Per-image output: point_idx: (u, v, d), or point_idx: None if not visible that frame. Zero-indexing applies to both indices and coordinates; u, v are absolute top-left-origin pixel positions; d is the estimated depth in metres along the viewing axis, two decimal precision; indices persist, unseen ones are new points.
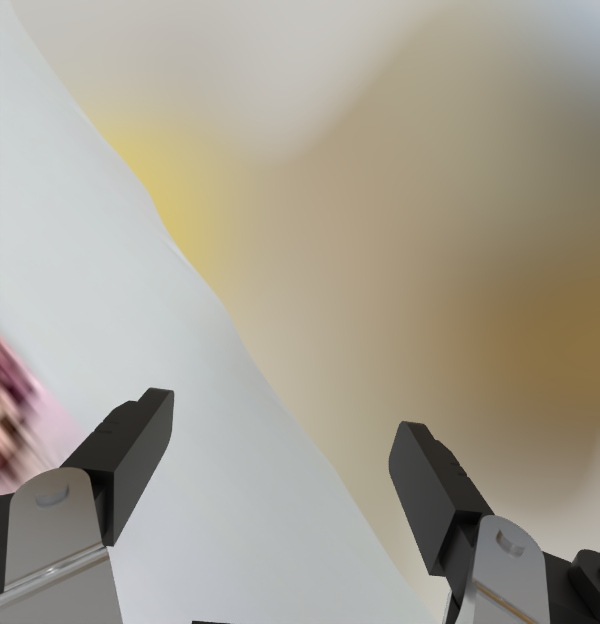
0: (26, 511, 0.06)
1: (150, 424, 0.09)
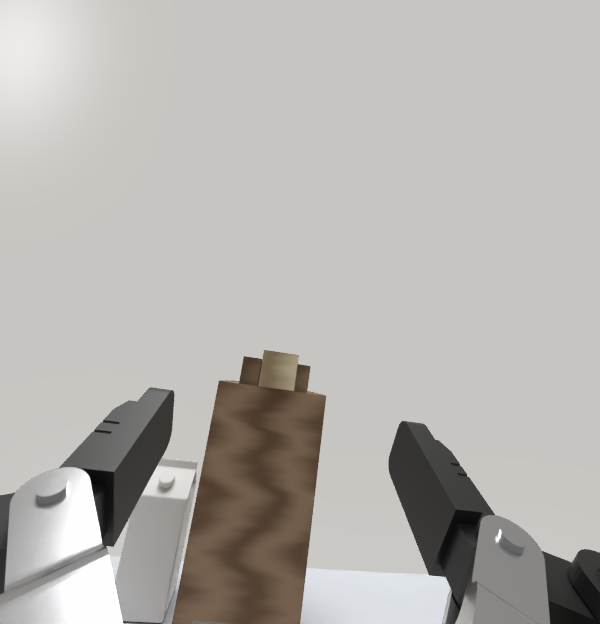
0: (26, 511, 0.06)
1: (150, 424, 0.09)
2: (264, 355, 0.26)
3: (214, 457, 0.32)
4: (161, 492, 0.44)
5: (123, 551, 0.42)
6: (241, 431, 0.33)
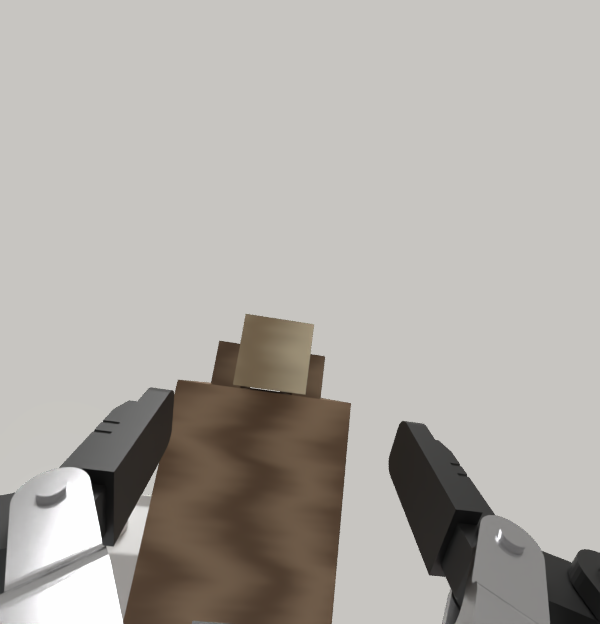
0: (26, 511, 0.06)
1: (150, 424, 0.09)
2: (246, 324, 0.13)
3: (165, 511, 0.19)
4: None
5: None
6: (212, 463, 0.20)
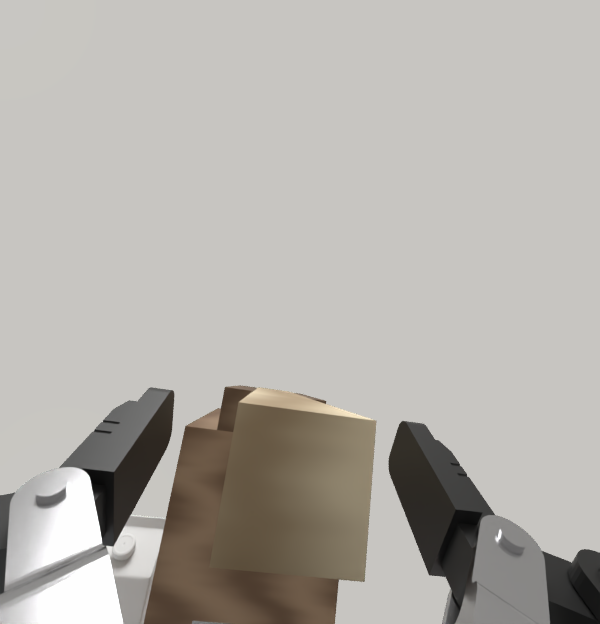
0: (26, 511, 0.06)
1: (150, 424, 0.09)
2: (239, 424, 0.06)
3: (174, 554, 0.20)
4: (114, 568, 0.32)
5: None
6: (219, 508, 0.21)
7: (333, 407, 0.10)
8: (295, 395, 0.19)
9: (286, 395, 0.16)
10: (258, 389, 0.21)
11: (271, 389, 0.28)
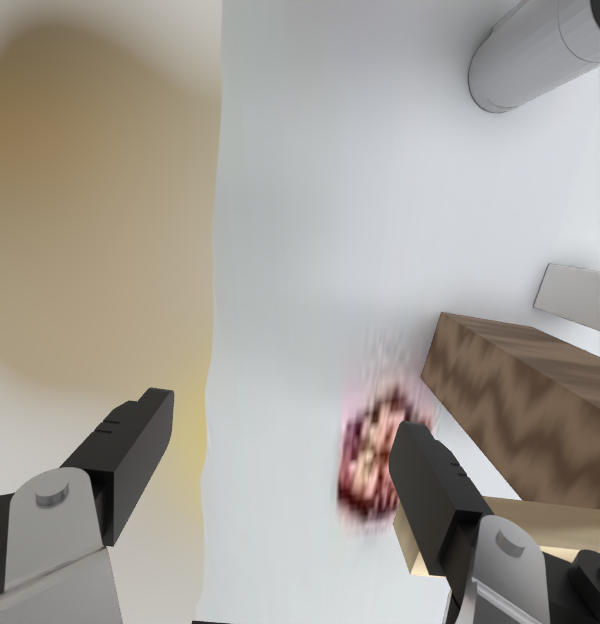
0: (26, 511, 0.06)
1: (150, 424, 0.09)
2: None
3: (567, 401, 0.27)
4: None
5: (595, 273, 0.41)
6: (587, 446, 0.25)
7: None
8: None
9: None
10: None
11: None
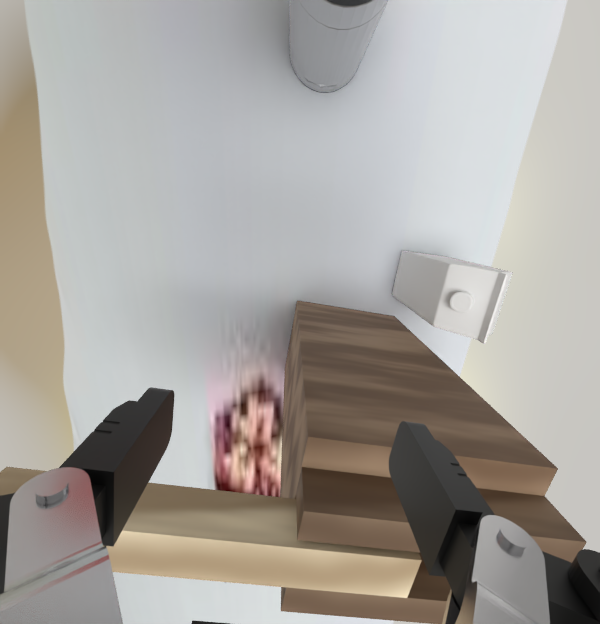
0: (26, 511, 0.06)
1: (150, 424, 0.09)
2: None
3: (300, 384, 0.26)
4: (447, 295, 0.33)
5: (422, 257, 0.40)
6: (296, 429, 0.24)
7: None
8: (206, 573, 0.17)
9: (157, 558, 0.16)
10: (257, 546, 0.16)
11: (391, 574, 0.17)
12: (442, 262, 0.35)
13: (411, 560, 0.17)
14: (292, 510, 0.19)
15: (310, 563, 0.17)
